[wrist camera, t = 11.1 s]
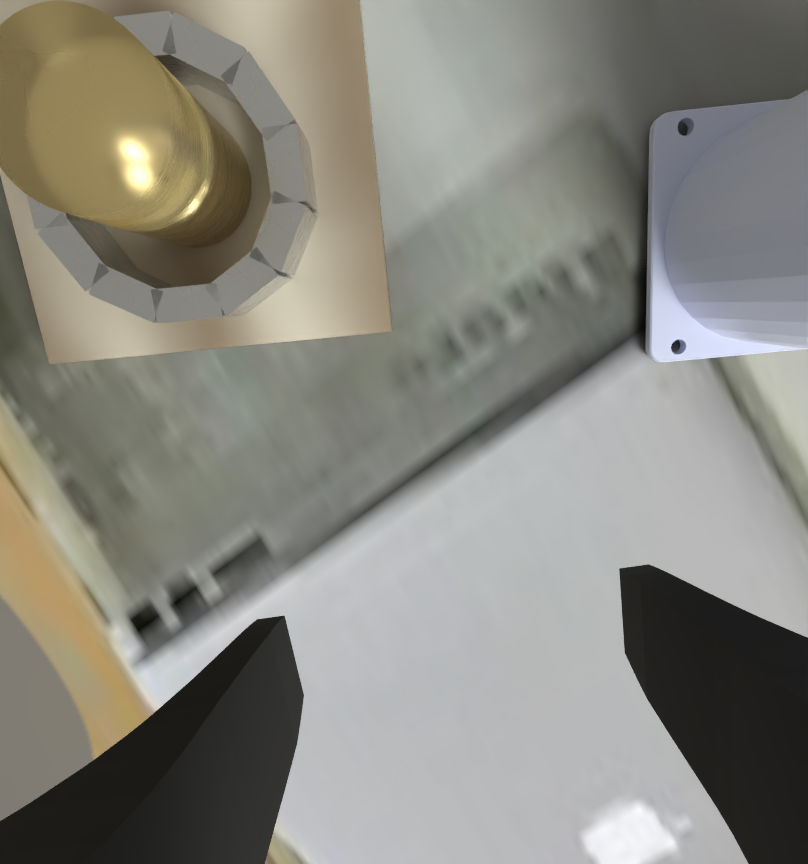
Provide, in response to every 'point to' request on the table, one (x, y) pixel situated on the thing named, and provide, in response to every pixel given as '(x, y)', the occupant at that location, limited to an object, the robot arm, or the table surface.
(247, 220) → the board
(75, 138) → the brass knob
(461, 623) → the table surface
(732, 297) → the robot arm
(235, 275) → the pipe sockets
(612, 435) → the table surface
